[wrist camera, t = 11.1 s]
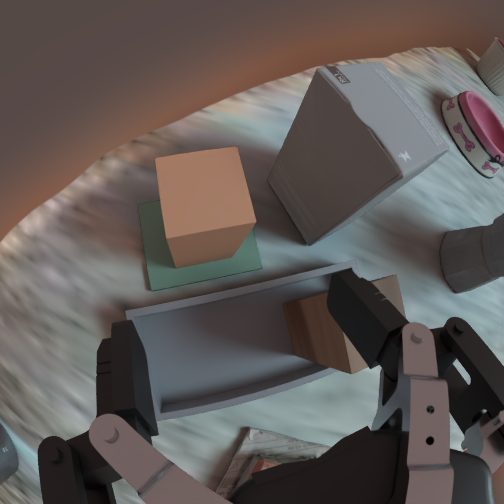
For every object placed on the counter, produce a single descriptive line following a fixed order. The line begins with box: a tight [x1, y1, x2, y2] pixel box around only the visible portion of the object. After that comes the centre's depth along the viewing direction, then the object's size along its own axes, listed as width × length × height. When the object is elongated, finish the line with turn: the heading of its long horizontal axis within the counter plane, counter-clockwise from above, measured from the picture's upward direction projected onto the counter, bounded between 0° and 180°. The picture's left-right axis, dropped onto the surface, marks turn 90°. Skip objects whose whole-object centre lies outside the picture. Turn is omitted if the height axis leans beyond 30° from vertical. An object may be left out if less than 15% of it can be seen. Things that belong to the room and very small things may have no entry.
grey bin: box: [125, 260, 360, 421], centre depth 23 cm, size 20×9×3 cm, turn 104°
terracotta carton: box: [155, 146, 256, 269], centre depth 20 cm, size 5×5×10 cm
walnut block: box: [282, 275, 406, 374], centre depth 21 cm, size 5×5×10 cm
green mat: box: [138, 200, 262, 291], centre depth 26 cm, size 10×8×1 cm
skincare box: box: [267, 62, 450, 246], centre depth 21 cm, size 8×7×16 cm
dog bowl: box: [441, 91, 504, 179], centre depth 38 cm, size 18×19×7 cm
